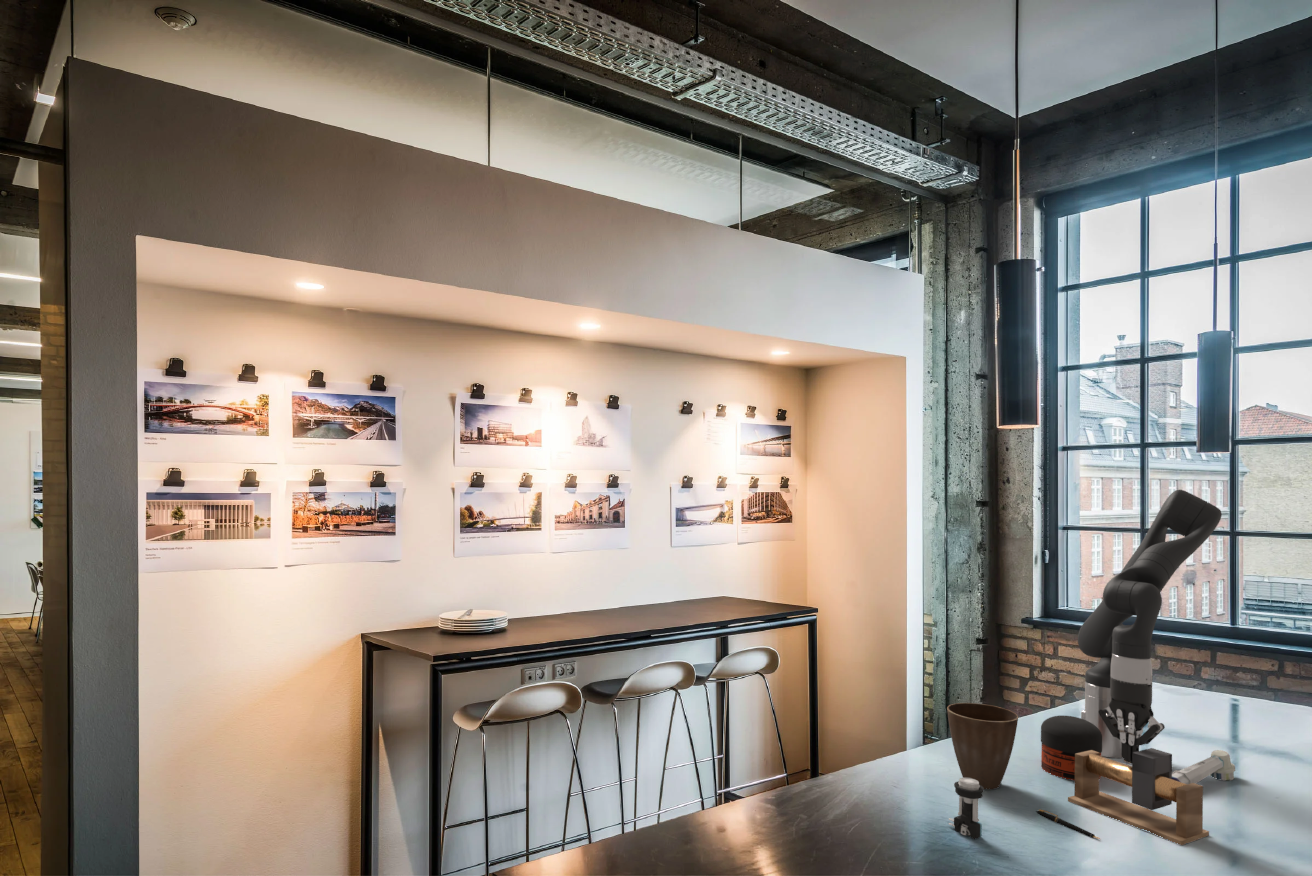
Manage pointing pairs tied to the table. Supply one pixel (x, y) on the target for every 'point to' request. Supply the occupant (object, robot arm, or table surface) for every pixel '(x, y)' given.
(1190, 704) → the table surface
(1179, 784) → the pipe
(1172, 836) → the stand
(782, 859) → the table surface
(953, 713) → the plant pot
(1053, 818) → the fountain pen
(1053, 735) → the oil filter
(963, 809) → the push button
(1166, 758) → the collar
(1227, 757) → the toothbrush head
